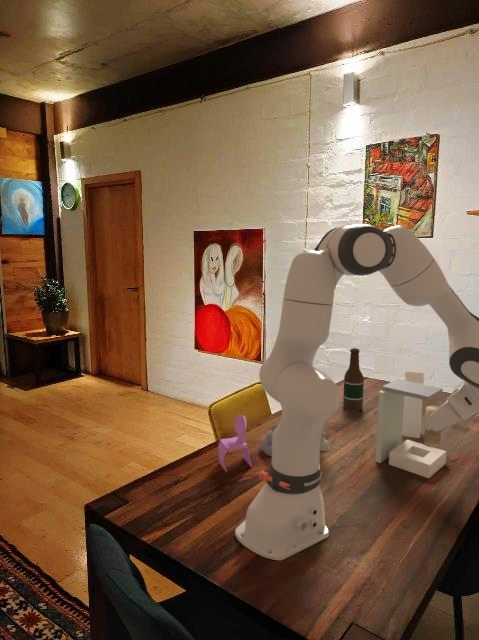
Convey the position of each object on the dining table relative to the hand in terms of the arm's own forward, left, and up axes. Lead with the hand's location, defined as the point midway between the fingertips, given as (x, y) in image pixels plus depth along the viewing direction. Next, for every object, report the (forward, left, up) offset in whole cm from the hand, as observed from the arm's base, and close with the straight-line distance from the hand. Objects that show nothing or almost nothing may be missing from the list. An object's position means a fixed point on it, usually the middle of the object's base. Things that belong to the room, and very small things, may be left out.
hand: (430, 424), depth 124 cm
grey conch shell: (-11, +42, -18) cm, 47 cm away
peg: (0, -1, -5) cm, 5 cm away
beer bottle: (+39, +46, -18) cm, 63 cm away
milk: (+30, +18, -18) cm, 40 cm away
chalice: (0, +34, -18) cm, 39 cm away
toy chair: (-28, +46, -18) cm, 57 cm away
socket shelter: (+10, +9, -18) cm, 22 cm away
